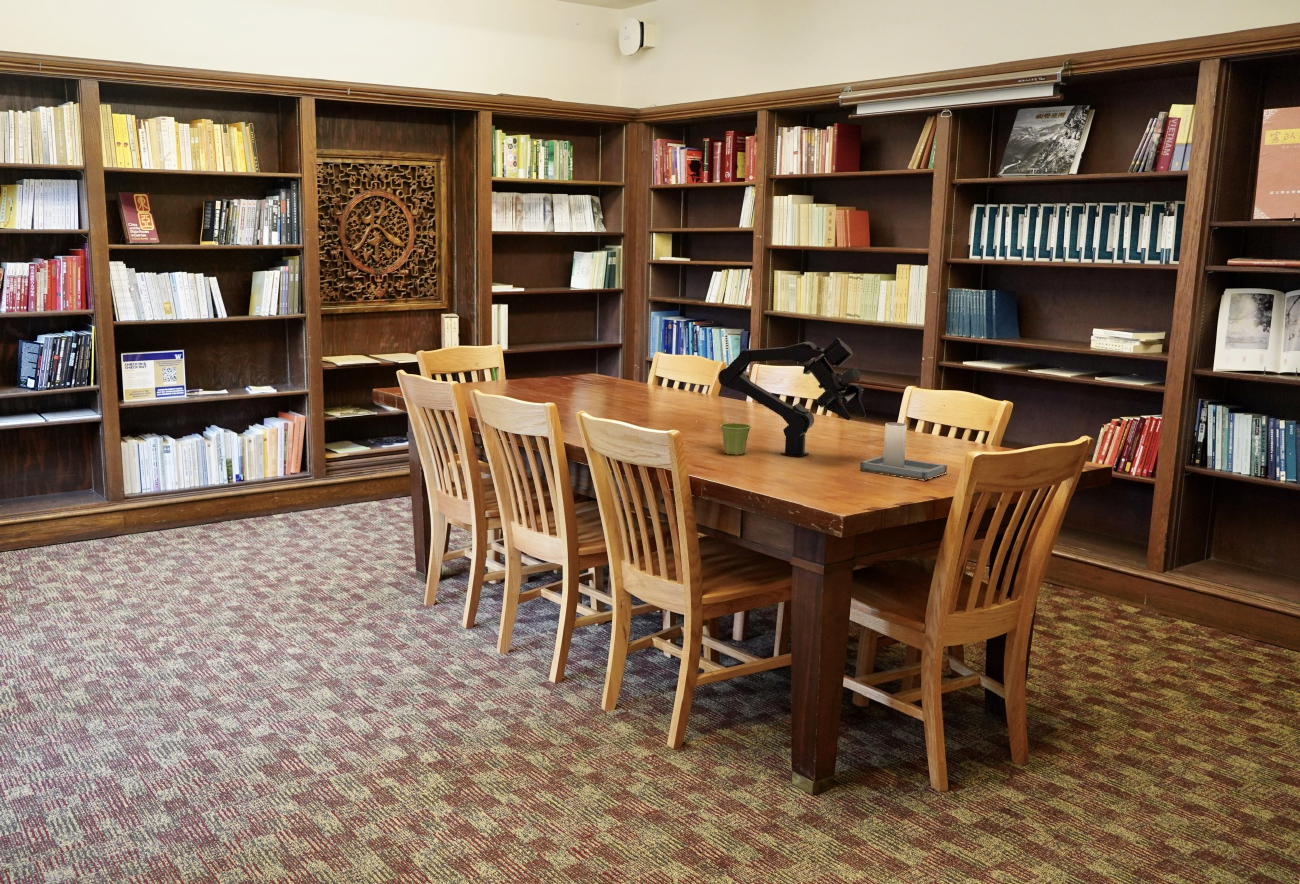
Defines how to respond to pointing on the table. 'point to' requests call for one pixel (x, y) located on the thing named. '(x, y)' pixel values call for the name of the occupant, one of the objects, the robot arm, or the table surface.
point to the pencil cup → (894, 444)
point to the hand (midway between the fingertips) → (857, 417)
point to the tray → (910, 468)
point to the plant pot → (735, 437)
